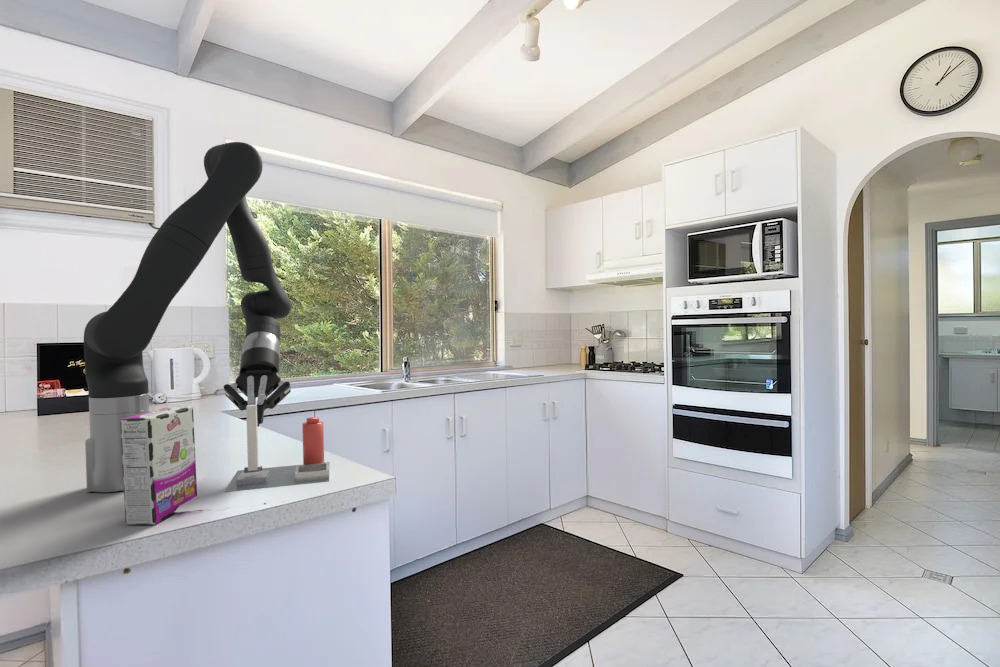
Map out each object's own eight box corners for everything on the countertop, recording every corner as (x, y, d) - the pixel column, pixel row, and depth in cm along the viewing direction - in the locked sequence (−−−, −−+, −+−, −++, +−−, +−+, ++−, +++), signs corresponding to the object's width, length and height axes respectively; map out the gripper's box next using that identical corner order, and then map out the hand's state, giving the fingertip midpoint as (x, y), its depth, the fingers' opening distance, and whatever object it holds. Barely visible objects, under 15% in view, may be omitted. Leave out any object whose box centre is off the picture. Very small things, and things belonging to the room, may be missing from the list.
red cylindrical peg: (302, 470, 105) (301, 420, 105) (303, 465, 109) (302, 417, 109) (324, 468, 107) (323, 418, 106) (324, 463, 110) (323, 415, 110)
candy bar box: (169, 501, 91) (166, 406, 91) (198, 501, 91) (195, 405, 91) (121, 526, 80) (118, 417, 80) (154, 526, 80) (151, 417, 80)
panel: (223, 497, 93) (223, 483, 93) (237, 475, 106) (237, 463, 106) (329, 486, 98) (328, 473, 98) (329, 466, 112) (329, 455, 112)
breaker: (243, 474, 98) (242, 406, 98) (245, 471, 100) (243, 405, 100) (261, 472, 99) (259, 405, 99) (262, 470, 101) (260, 404, 100)
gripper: (223, 346, 109) (212, 415, 98) (292, 344, 113) (289, 410, 102) (229, 370, 115) (219, 438, 103) (294, 367, 119) (292, 433, 107)
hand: (254, 424), depth 103 cm, fingers closed
